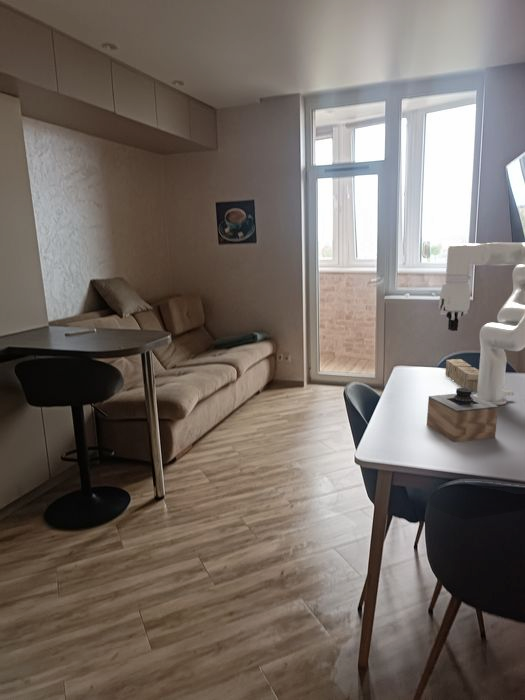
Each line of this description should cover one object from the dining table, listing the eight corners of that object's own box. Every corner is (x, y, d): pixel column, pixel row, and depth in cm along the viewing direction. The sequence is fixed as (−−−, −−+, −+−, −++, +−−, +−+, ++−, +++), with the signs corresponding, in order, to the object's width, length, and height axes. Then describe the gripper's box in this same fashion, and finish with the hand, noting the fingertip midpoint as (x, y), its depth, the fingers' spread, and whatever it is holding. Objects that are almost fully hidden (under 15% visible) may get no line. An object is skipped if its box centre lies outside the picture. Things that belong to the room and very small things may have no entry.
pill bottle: (472, 424, 160) (475, 392, 158) (453, 423, 161) (456, 391, 159) (468, 418, 166) (471, 387, 164) (450, 417, 167) (452, 386, 165)
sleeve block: (464, 420, 173) (467, 392, 171) (495, 437, 159) (498, 406, 157) (426, 425, 170) (428, 396, 167) (454, 442, 155) (456, 410, 153)
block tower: (444, 376, 237) (466, 392, 208) (445, 359, 235) (468, 372, 206) (460, 376, 236) (485, 392, 208) (461, 359, 235) (486, 372, 206)
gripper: (468, 278, 179) (463, 327, 183) (432, 279, 175) (428, 329, 179) (481, 280, 172) (477, 330, 176) (444, 281, 168) (441, 333, 172)
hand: (452, 330), depth 178 cm, fingers closed
